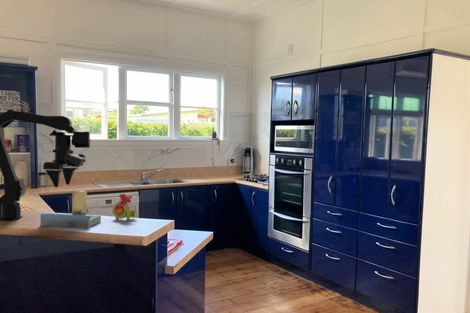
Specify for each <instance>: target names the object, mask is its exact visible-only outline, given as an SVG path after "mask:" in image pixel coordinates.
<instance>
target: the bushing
mask: <svg viewBox="0 0 470 313" xmlns="http://www.w3.org/2000/svg"><path fill="white" fill-rule="evenodd" d="M87 195H88V191H87V190H73V191H72V196H71V198H72V201H71V202H72V205H71V206H72V207H71V208H72V210H71V211H72V212H71V214H73V215H87V210H88V209H87V205H88V204H87V203H88V202H87V200H88V199H87V198H88V196H87Z"/></svg>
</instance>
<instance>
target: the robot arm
mask: <svg viewBox="0 0 470 313" xmlns="http://www.w3.org/2000/svg"><path fill="white" fill-rule="evenodd" d="M15 121H20V122H24V123H31V124H36V125H43V126H46V127H49V128H52V129H54V130H53V131H52V132H51V133H49V136H50V137H54V149H52V153H54V159H52V161H45V162H44V163H43V166H42V169H43V170H44V171H45V172H46V173H47V175H48V177H49V178H50V180H51V182H52V184H53V186H54V188H58V187H59V184H60V183H59V182H60V176H61V175H60V174H62V173H63V174H62V175H63V177H64V181H65V183H66V184H65V185H67V186H69V185H70V183H71V180H72V178H73V175H74V172H75V171H77V170H78V169H79V168H80V167H83V165H84V163H86V159H87V158H86V155H85V154H84V153H80V154H75V153H74V150H73V149H71V145H72V146H74V148H76V149H77V148H81V149H82V148H83V149H90V147H91V138H90V131H86V130H85V131H76V129H75V128H74V126H72V125H73V123H72V120H71V118H69V117H66V116H64V115H41V114H36V113H31V112H25V111H18V110H15V109H8V110H6V111H5V112H3V113H1V114H0V172H1V174H2V177H3V191H4V194H2V196H0V221H15V220H18V219H21V218H22V217H23V216H22V215H21V214H22V212H21V211H22V210H21V209H22V208H21V205H20V203H21V202H20V200H21V198H22V197H24V196H25V195H26V189H27V186H26V184H25V180H24V178H19V177H18V176H17V173H16V171H15V168H14V165H13V162H12V160H11V157H10V154H9V151H8V147H7V146H6V143H5V128H8V126H10V125H11V124H12V123H13V122H15ZM57 130H59V131H57ZM66 133H68V134H66Z"/></svg>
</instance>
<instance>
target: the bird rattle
mask: <svg viewBox="0 0 470 313" xmlns="http://www.w3.org/2000/svg"><path fill="white" fill-rule="evenodd" d="M119 198H120V200H118V201H116V202H115V203H114V204H113V206H112V210H111V211H112V214H113V217H114V218H115V220H123V219H125V218H126V222H128V221H129V219H131V217H132V218H136V217H135V215H136V213H137V211H135V210H130V205H129V204H128V203H131V202H132V198H133V196H132V195H128V196H127V195H126V194H125V193H122V194H121V193H120V194H119Z"/></svg>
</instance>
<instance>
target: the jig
mask: <svg viewBox="0 0 470 313" xmlns="http://www.w3.org/2000/svg"><path fill="white" fill-rule="evenodd" d="M101 222H102V216H101V215H97V214H96V215H95V214H93V215H91V214H86V215H73V214H72V213H46V212H44V213H43V212H42V213H40V227H54V228H55V227H57V228H78V229H89V228H92V227H93V226H95V225H98V224H99V223H101Z"/></svg>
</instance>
